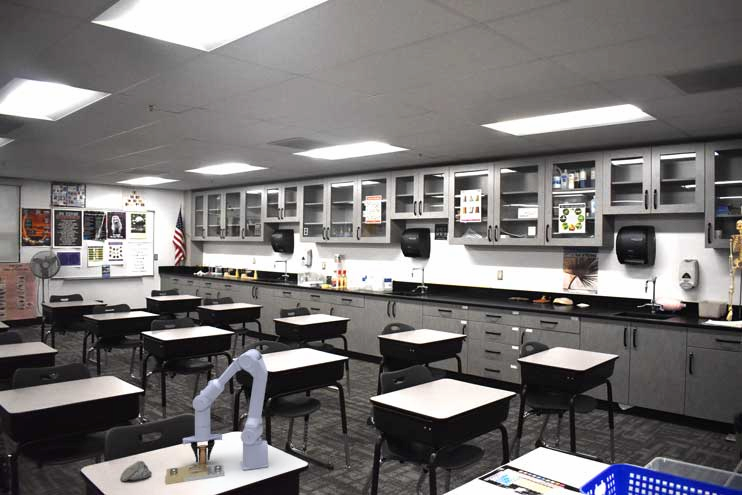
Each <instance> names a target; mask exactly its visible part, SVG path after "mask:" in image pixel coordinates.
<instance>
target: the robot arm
mask: <svg viewBox="0 0 742 495" xmlns="http://www.w3.org/2000/svg"><path fill="white" fill-rule="evenodd" d="M242 370H244V371H246V372H247V373H249V374H250V375H251V376H252V377H253V381H252V388H251V396H250V399H249V400H250V401H249V406H248V414H247V418H246V422H245V425H244V428H243V430H242V432H241V434H240V440H241V441H242V461H240V464H241V465H240V466H241V468H242V471H247V470H249V471H250V470H255V469H256V470H257V469H262V468H268V467H269V448H268V447H269V446H268V445H269V444H268V441H267V440H263V439H262V437H261V436H262V435H263V433H264V427H263V418H262V414H263V413H262V412H263V407H264V400H265V393H266V387H267V381H268V372H269V371H268V369H267V367H266V364H265V362H264V355H262V353H261V352H260V351H259V350H257V349H255V348H253V349H249V350H247V351H246V352H244V353H242V354H241V355H239V357H237V358H236V359H235V360H234V361H232V362H231V364H229V366H228V367H227V368H226V369H225V370H224V372H223V373H222V374H221V375H220V377H218V378H215V379H212V380H209V381H208V382H207V386H206V387H205V388H203V389H202V390H200V392H199V395H197V396H195V397H194V399H193V400H192V408H193V409H194V435H192V436H188V437H184V438H182V445H188V444H190V447H191V449H192V451H193V454H194V457H195V462H196V463H199V449H198V446H199V445H198V443H204V442H207V445H208V448H207V462H208V461H210V459H211V458H210V457H211V454H212V451H213V449H214V446H215V444H216V442H215V441H222V440H223V433H211V405H212V404H213V402H214V401H215V400H216V399H217V398H218V397H219V395H220V394H221V393H222V392H223V391H224V390H225V384H226V383H227V382H228V381H229V380H230V379H232V377H233V376H234V375H235V374H236V373H237V372H239V371H242Z"/></svg>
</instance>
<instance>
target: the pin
mask: <svg viewBox="0 0 742 495" xmlns="http://www.w3.org/2000/svg"><path fill="white" fill-rule="evenodd" d="M207 453H208V444H201V445H198V465H200V464H206V466H208V465H207V464H208V463H207V462H208V460H207Z"/></svg>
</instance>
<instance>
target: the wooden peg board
mask: <svg viewBox="0 0 742 495" xmlns="http://www.w3.org/2000/svg"><path fill="white" fill-rule="evenodd" d="M165 474H166V477H165V484H166V485H169V484H177V483H183V482H189V481H196V480H203V479H205V480H206V479H210V478H218V477H223V476H224V477H225V469H224V465H223V464H216V465H210V466H208V465H206V464H200V465H199V464H194V465H187V466H180V467H179V466H178V467H171V468H166V473H165Z"/></svg>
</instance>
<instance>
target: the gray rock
mask: <svg viewBox="0 0 742 495" xmlns="http://www.w3.org/2000/svg"><path fill="white" fill-rule="evenodd" d="M152 474H153V473H152V471H151V470H150V469H149V467H148V465H147V464H146V463H145V461H142V460H141V461H140V460H138V461H135V462H134V463H132V464H131V465H129V466H127V467H126V468H125V469H124V470H123V472H122V473H121V476H120V481H121V482H123V483H124V482H126V481H128V480H130V481H131V480H132V481H137V480H143V479H146V478H148V477H150V476H151V475H152Z"/></svg>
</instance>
